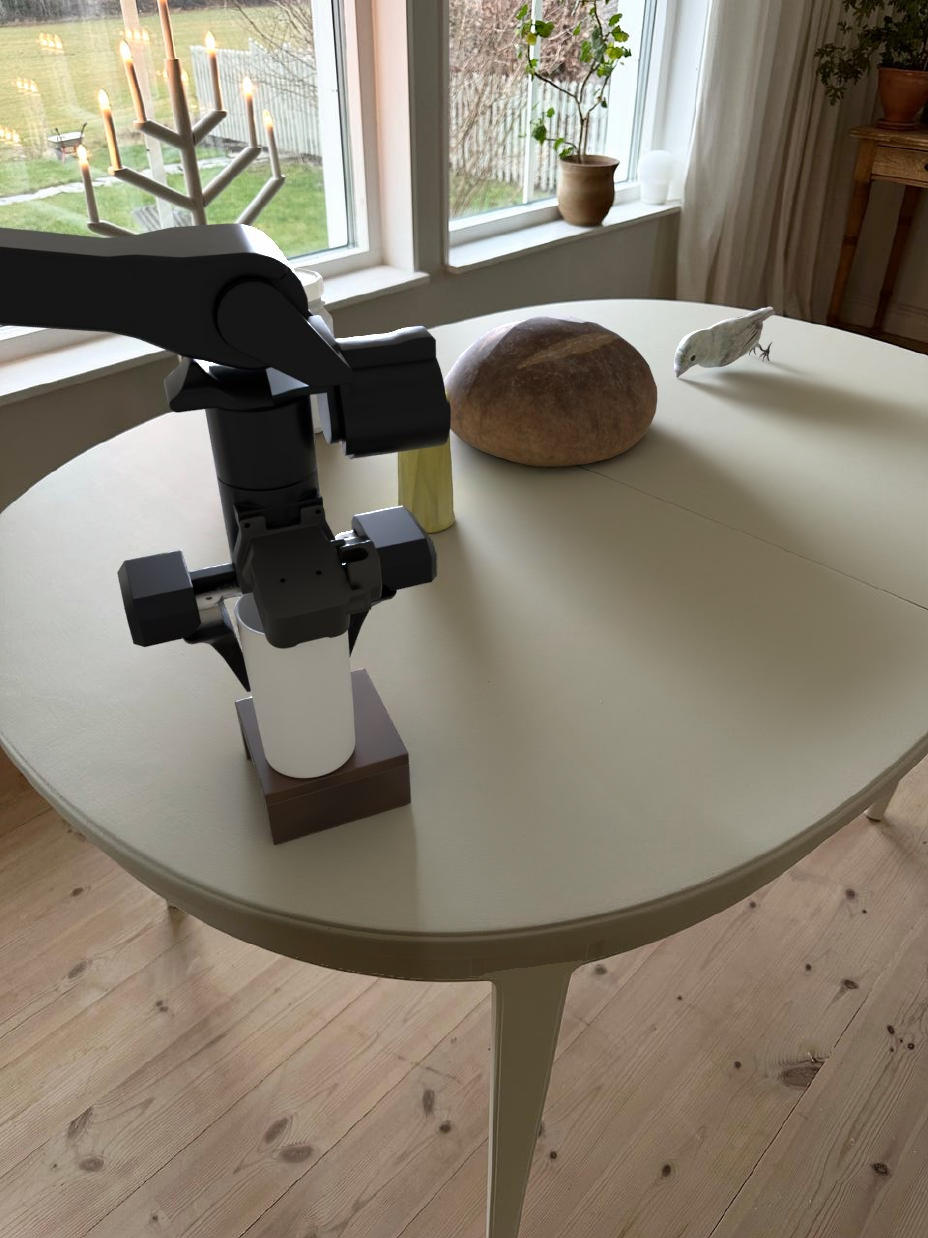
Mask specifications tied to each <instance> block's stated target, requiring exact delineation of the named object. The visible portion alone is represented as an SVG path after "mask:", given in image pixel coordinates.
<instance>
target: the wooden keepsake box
mask: <svg viewBox="0 0 928 1238" xmlns="http://www.w3.org/2000/svg"><path fill="white" fill-rule="evenodd" d="M351 684H352V697H353V710H354V728H355V747H354V750H353V753H352V755H351V756H350V758H349V759H348V760H347V761H346V762H345V763H344V764H343V765H342V766H341V767H339V768H338V769H336V770H334V771H332V772H330V773H328V774H325V775H322V776H318V777H312V778H296V777H290V776H287V775H284V774H282V773H280V772H278V771H276V770H275V769H274V768H273V767H271V765H270V764H269V763H268V761H267V759H266V757H265V754H264V749H263V744H262V740H261V735H260V731H259V727H258V722H257V717H256V712H255V707H254V703H253V698H252V696H250V697H246V698H243V699H238V700H235V701H234V707H235V711H236V716H237V721H238V726H239V731H240V736H241V740H242V746H243V751H244V754H245V757H246V760H247V761H249V760H251V761H252V764H253V767H254V771H255V773H256V777H257V781H258V783H259V787H260V790H261V793H262V798H263V801H264V802H263V803H264V808H265V813H266V818H267V824H268V829H269V834H270V837H271V841H272V844H273V845H274V846H276V845H279V844H280V845H281V844H282V843H286V842H290V841H292V840H295V839H299V838H302V837H305V836H309V835H312V834H316V833H319V832H322V831H324V830H328V829H331V828H334V827H338V826H341V825H344V824H347V823H350V822H354V821H358V820H361V819H364V818H367V817H371V816H373V815H377V814H380V813H384V812H386V811H390V810H393V809H396V808H399V807H402V806H403V807H404V806H406V805H409V804H411V803H412V794H411V793H412V790H411V789H412V788H411V772H410V753H409V751H408V749H407V748H406V746H405V744H404V742H403V739H402V738H401V736H400V734H399V731H398V730H397V727H396V726H395V724H394V722H393V720H392V718H391V717H390V714H389V713H388V710H387V708H386V707H385V704H384V703H383V701H382V699H381V697H380V695H379V692H378V691H377V689H376V687H375V685H374V683H373V681H372V678H371V677H370V675H369V673H368V671H367V669H366V668H365V667H363V668H359V669H355V670H352V671H351Z"/></svg>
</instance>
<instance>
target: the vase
mask: <svg viewBox="0 0 928 1238" xmlns="http://www.w3.org/2000/svg"><path fill="white" fill-rule="evenodd" d="M445 392H446V399H447V400H448V401H449V403H450V395H449V391H448V390H447V388H445ZM452 466H453V463H452V451H451V432H450V433H449V438H448V440H447V443H446V444H445V445H443V446H436V447H429V448H423V449H416V450H409V451H403V452H397V507H399V506H404V507H405V508H406V509H408V510H409V511H410V512H412V513H413V515H414V516H415V518H416V519H417V520H418V522H419V523H420V524H421V526H422V527H423V529H424V530H425V531H426V533H427V534H434V533H439V532H443V531H444V530H446V529H448V528H450V527H451V526H452V525H453V524H454V522H455V521H456V514H455V510H454V509H455V508H454V481H453V467H452Z"/></svg>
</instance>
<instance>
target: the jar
mask: <svg viewBox="0 0 928 1238" xmlns="http://www.w3.org/2000/svg"><path fill="white" fill-rule="evenodd" d="M292 269H293V270H294V272H295V273H296V275H297V276H298V278H299V279H300V280H301V283H302V285H303V288H304V290H305V293H306V295H307V298H308V310H309V311H310V312H311V313H312V314H313V315H314V316H320V317H321V318H322V319H323V321H324V323H325V324H326V326H327V327H328V329H329V330H330V332H331V333H332V335H333V336H334V337H335V335H334V334H335V333H334V332H335V331H334V323H333V322H334V321H333V317H332V315H331V314H330V313H329V312H328V310H327V309H326V308H325V307H324V306H325V305H326V300H325V299H324V298H323V297H322V295H324V293H325V289H324V288H325V286H324V278H323V276H322V275H321V274H320V273H319V272H318V271H315V270H311V269H308V268H300V267H297V268H296V267H292ZM310 397H311V407H312V417H313V427H314V434H319V433H321V432H323V430H322V426H321V421H320V416H319V410H318V403H317V394H314V395H310Z"/></svg>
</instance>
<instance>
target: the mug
mask: <svg viewBox="0 0 928 1238" xmlns="http://www.w3.org/2000/svg"><path fill="white" fill-rule="evenodd" d="M238 597H239V598H238V599H237V600H236V602H235V604H234V610H233V611H234V617H235V621H236V626H237V631H238V636H239V638H238V639H239V643H240V647H241V650H242V653H243V656H244V661H245V666H246V670H247V675H248V679H249V684H250V689H251V691H250V693H251V697H252V698H253V703H254V707H255V712H256V717H257V722H258V727H259V731H260V735H261V740H262V744H263V749H264V754H265V757H266V759H267V761H268V763H269V764H270V765H271V767H273V768H274V769H275V770H276V771H278V772H280V773H282V774H284V775H287V776H290V777H296V778H312V777H318V776H322V775H325V774H328V773H330V772H332V771H334V770H336V769H338V768H339V767H341V766H342V765H343V764H344V763H345V762H346V761H347V760H348V759H349V758H350V756H351V755H352V753H353V750H354V747H355V728H354V710H353V697H352V684H351V656H349V641H348V630H347V631H346V632H345V633H344V634H342V635H340V636H337V637H333V638H329V637H325V638H321V639H317V640H313V641H308V642H304V643H300V644H298V645H296V646H295V647H291V648H286V649H280V648H276V647H274V646H272V645H271V644H270V643H269V642H268V641H267V639H266V637H265V633H264V629H263V625H262V622H261V619H260V616H259V613H258V609H257V606H256V603H255V600H254V596H253V593H252V594H247V595H243V596H238Z"/></svg>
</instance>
